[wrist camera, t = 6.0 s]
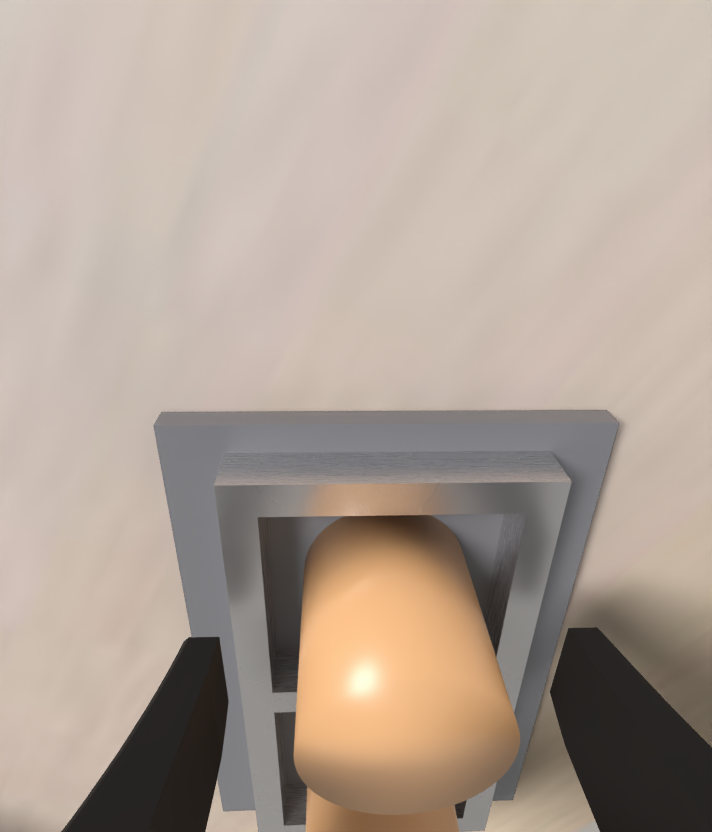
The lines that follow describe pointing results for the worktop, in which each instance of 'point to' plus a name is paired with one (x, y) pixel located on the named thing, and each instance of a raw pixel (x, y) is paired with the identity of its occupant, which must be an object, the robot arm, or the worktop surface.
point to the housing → (370, 496)
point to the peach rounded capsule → (397, 671)
